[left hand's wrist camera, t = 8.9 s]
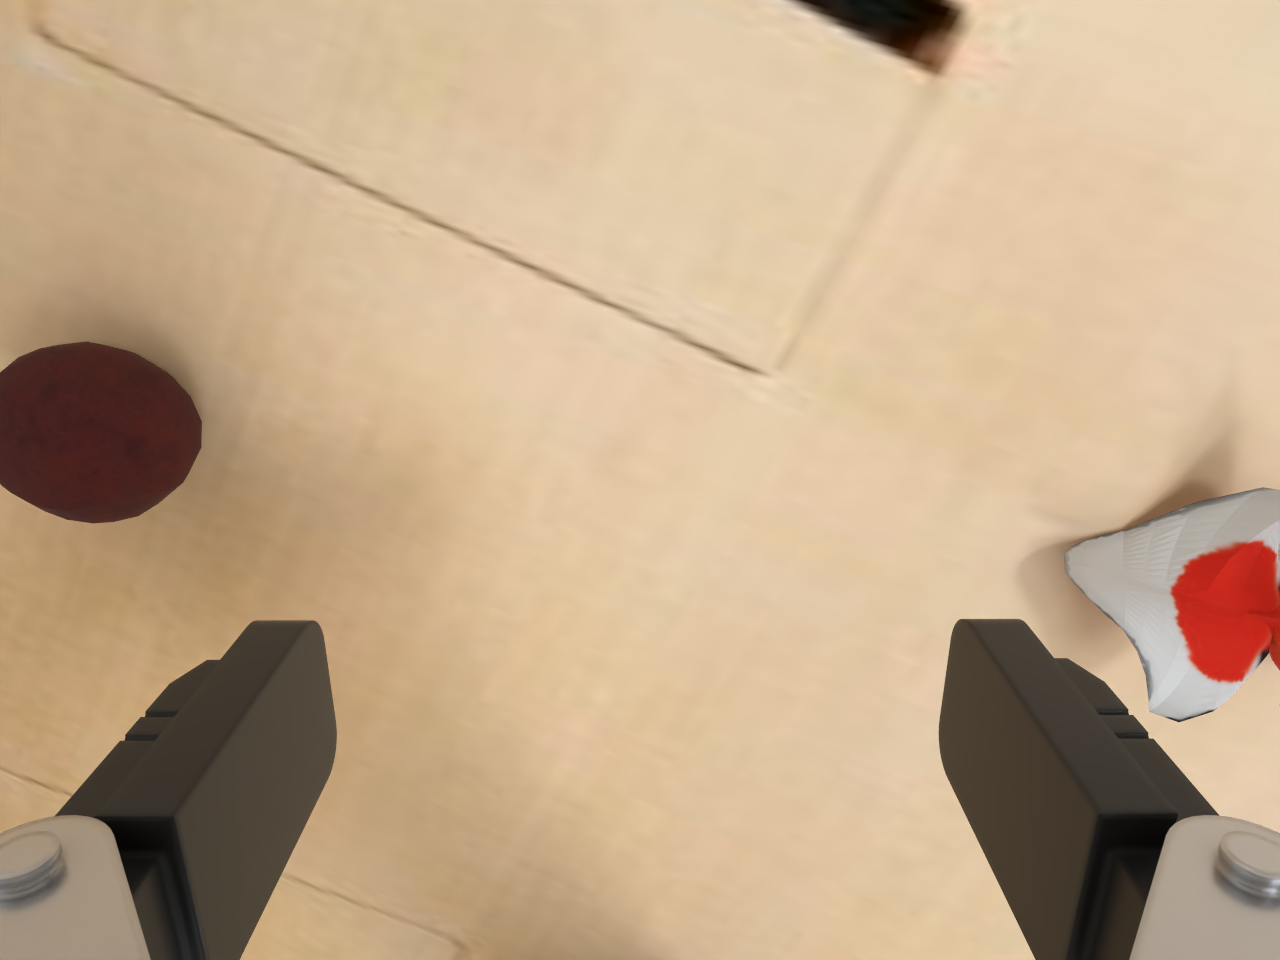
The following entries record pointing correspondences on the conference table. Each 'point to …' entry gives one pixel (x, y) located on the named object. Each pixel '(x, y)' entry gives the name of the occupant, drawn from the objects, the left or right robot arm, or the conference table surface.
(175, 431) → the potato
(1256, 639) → the fish
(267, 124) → the conference table surface
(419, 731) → the conference table surface
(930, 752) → the conference table surface
